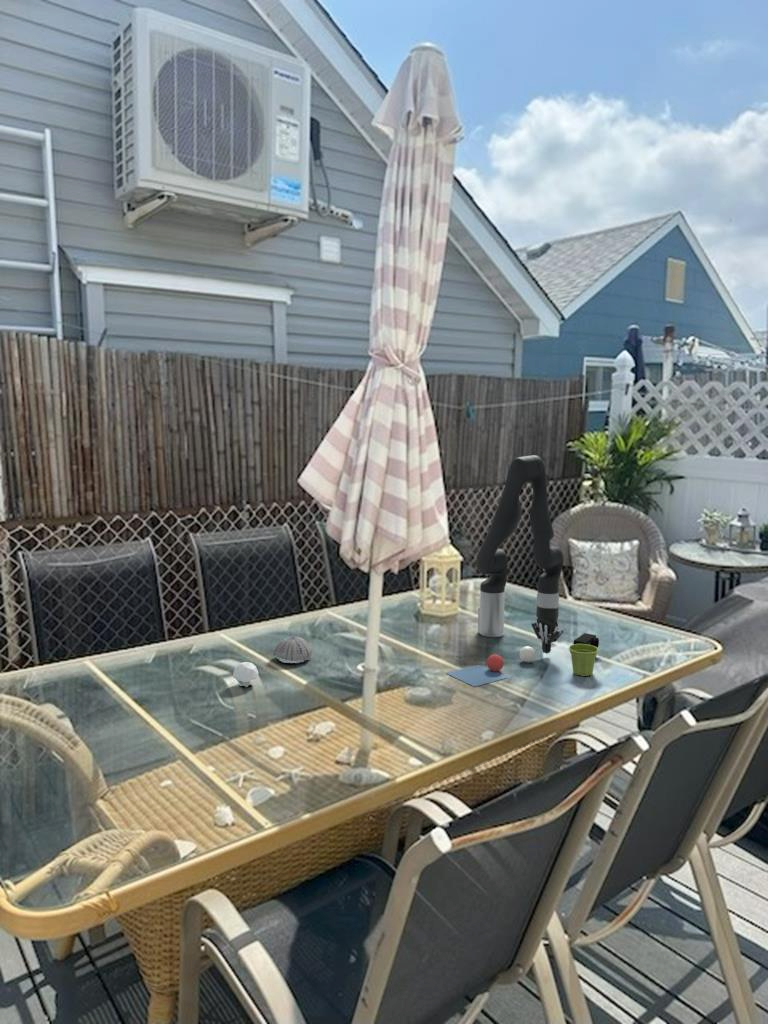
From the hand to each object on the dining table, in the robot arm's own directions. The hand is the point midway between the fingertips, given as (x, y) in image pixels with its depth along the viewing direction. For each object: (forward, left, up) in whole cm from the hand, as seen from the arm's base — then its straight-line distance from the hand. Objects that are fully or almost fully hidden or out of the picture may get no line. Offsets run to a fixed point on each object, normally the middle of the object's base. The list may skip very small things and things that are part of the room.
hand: (546, 652), depth 250 cm
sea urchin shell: (-48, -74, -2) cm, 88 cm away
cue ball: (0, -9, +1) cm, 9 cm away
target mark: (0, -32, -2) cm, 32 cm away
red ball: (0, -24, +1) cm, 24 cm away
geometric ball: (-34, -98, -2) cm, 103 cm away
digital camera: (+8, +12, -2) cm, 14 cm away
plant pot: (+18, -2, -2) cm, 18 cm away
